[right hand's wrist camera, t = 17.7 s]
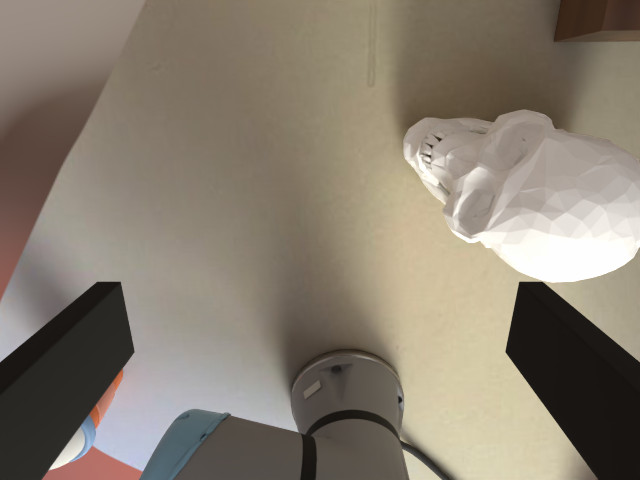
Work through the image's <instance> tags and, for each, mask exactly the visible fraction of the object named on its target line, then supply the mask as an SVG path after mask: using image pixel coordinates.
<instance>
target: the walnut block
mask: <svg viewBox="0 0 640 480" xmlns="http://www.w3.org/2000/svg"><path fill="white" fill-rule="evenodd" d="M599 41H640V0H561V5H560V10H559V16H558V22H557V27H556V33H555V38H554V42H599Z"/></svg>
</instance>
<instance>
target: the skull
mask: <svg viewBox="0 0 640 480" xmlns="http://www.w3.org/2000/svg"><path fill="white" fill-rule="evenodd" d="M471 131H473V132H471ZM477 132H478V133H477ZM479 133H486V134H479ZM445 135H446V136H445ZM435 136H437V137H439V138H441V139H442V140H441V141H440V142H439V141H438V140H437V139H436V138H435ZM426 143H428V144H430V145H433V147H432V148H431V147H430V146H428V145H427V144H426ZM403 151H404V158H405V159H406V160H407V162H408V163H409V164H410V165H411V166H412V167H413V168H414V169H415V171H416V172H417V173H418V175H419V177H420V179H421V180H422V182H423V184H424V185H425V186H426V187H427V188H428V190H429V191H430V192H431V193H432V194H433V195H434V196H435V197H436V198H438V199H439V200H440V201H441V202H443V203H444V204H445V206H444V208H443V210H442V211H443V214H444V216H445V219H446V221H447V224H448V226H449V228H450V229H451V231H452V232H453V233H454V234H456V235H457V236H458V237H460V238H462V239H464V240H465V241H467V242H471V243H474V242H477V241H479V240H480V241H481V242H482V243H483V245H484V247H487V248H490V247H491V248H492V249H493V250H494V251H495V252H496V253H497V255H498V256H499V257H501V258H502V259H503V260H504V261H505V262H507V263H508V264H509V265H510V266H512V267H513V268H514V269H516V270H517V271H519V272H521V273H523V274H526V275H529V276H531V277H534V278H537V279H540V280H543V281H548V282H572V281H577V280H582V279H588V278H593V277H596V276H599V275H603V274H605V273H608V272H610V271H613V270H615V269H617V268H619V267H621V266H623V265H624V264H626V263H627V262H628V261H629V260H631V259H632V258H633V257H634V256H635V254H636V252H637V250H638V248H639V247H640V161H639V160H638V159H637V158H636V157H634V156H633V155H631V154H629V153H628V152H626V151H625V150H623V149H622V148H620V147H619V146H617V145H615V144H614V143H612V142H611V141H609V140H605V139H601V138H597V137H593V136H588V135H584V134H576V133H569V132H566V131H565V130H564V129H555V128H554V126H553V125H552V120H551V119H550V118H549V117H548V116H546V115H545V114H543V113H539V112H535V111H530V110H525V109H524V110H518V111H514V112H510V113H506V114H503V115H499V116H498V118H497V119H496V120H495V122H490V121H485V120H480V119H475V118H454V119H439V118H424V119H422V120H420V121H419V122H417V123H416V124H415V125H413V126H412V127H410V128H409V129H408V131H407V133H406V135H405V137H404V139H403ZM425 154H428V155H431V158H430V157H428V156H426V155H425ZM429 162H430V163H431V164H429ZM439 182H440V183H441V184H442V185H443V186H444V187H445V188H447V189H448V190H449V191H450V193H449V192H448V191H447V190H446V189H445V188H444V187H443V186H442V185H441V184H440V183H439Z"/></svg>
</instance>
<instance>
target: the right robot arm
mask: <svg viewBox="0 0 640 480" xmlns="http://www.w3.org/2000/svg"><path fill="white" fill-rule="evenodd" d="M133 353H134V347H133V341H132V336H131V331H130V326H129V321H128V316H127V311H126V306H125V301H124V296H123V291H122V286H121V282H97V283H95V284H94V285H93V286H92V287H91V288H89V289H88V290H87V291H86V292H84V293H83V294H82V295H81V296H80V297H78V298H77V299H76V300H75V301H74V302H72V303H71V304H70V305H69V306H68V307H66V308H65V309H64V310H63V311H62V312H60V313H59V314H58V315H57V316H56V317H54V318H53V319H52V320H51V321H49V322H48V323H47V324H46V325H45V326H43V327H42V328H41V329H40V330H39V331H37V332H36V333H35V334H34V335H33V336H31V337H30V338H29V339H28V340H27V341H25V342H24V343H23V344H22V345H21V346H19V347H18V348H17V349H16V350H15V351H13V352H12V353H11V354H10V355H8V356H7V357H6V358H5V359H4V360H2V361H1V362H0V480H42V478H43V477H44V476H45V474H46V473H47V472H48V470H49V469H50V467H51V466H52V465H53V463H54V462H55V461H56V459H57V458H58V456H59V455H60V454H61V452H62V451H63V450H64V448H65V447H66V445H67V444H68V443H69V441H70V440H71V439H72V437H73V436H74V434H75V433H76V432H77V430H78V429H79V428H80V426H81V425H82V423H83V422H84V421H85V419H86V418H87V417H88V415H89V414H90V412H91V411H92V410H93V408H94V407H95V406H96V404H97V403H98V402H99V400H100V399H101V397H102V396H103V395H104V393H105V392H106V391H107V389H108V388H109V386H110V385H111V384H112V382H113V381H114V380H115V378H116V377H117V375H118V374H119V373H120V371H121V370H122V369H123V367H124V366H125V364H126V363H127V362H128V360H129V359H130V358H131V356H132V355H133ZM506 353H507V355H508V356H509V358H510V359H511V360H512V362H513V363H514V364H515V366H516V367H517V369H518V370H519V371H520V373H521V374H522V375H523V377H524V378H525V380H526V381H527V382H528V384H529V385H530V386H531V388H532V389H533V391H534V392H535V393H536V395H537V396H538V397H539V399H540V400H541V402H542V403H543V404H544V406H545V407H546V408H547V410H548V411H549V412H550V414H551V415H552V417H553V418H554V419H555V421H556V422H557V423H558V425H559V426H560V428H561V429H562V430H563V432H564V433H565V434H566V436H567V437H568V439H569V440H570V441H571V443H572V444H573V445H574V447H575V448H576V450H577V451H578V452H579V454H580V455H581V456H582V458H583V459H584V461H585V462H586V463H587V465H588V466H589V467H590V469H591V470H592V472H593V473H594V474H595V476H596V477H597V478H598V480H640V362H639V361H638V360H636V359H635V358H634V357H633V356H632V355H630V354H629V353H628V352H627V351H625V350H624V349H623V348H622V347H621V346H619V345H618V344H617V343H616V342H615V341H613V340H612V339H611V338H610V337H609V336H607V335H606V334H605V333H604V332H603V331H601V330H600V329H599V328H598V327H597V326H595V325H594V324H593V323H592V322H591V321H589V320H588V319H587V318H586V317H584V316H583V315H582V314H581V313H580V312H578V311H577V310H576V309H575V308H574V307H572V306H571V305H570V304H569V303H568V302H566V301H565V300H564V299H563V298H562V297H560V296H559V295H558V294H557V293H556V292H554V291H553V290H552V289H551V288H549V287H548V286H547V285H546V284H545V283H543V282H519V286H518V291H517V296H516V301H515V306H514V311H513V316H512V321H511V326H510V331H509V336H508V341H507V347H506ZM291 408H292V414H293V417H294V420H295V422H296V425H297V428H298V431H299V433H298V432H294V431H290V430H286V429H282V428H278V427H274V426H270V425H266V424H262V423H258V422H254V421H250V420H246V419H241V418H238V417H234V416H231V414H230V413H224V414H221V413H216V412H210V411H205V410H199V409H192V410H188V411H186V412H184V413H182V414H181V415H180V416H178V417H177V418H176V419H175V421H174V422H173V423H172V424H171V426H170V427H169V428H168V430H167V431H166V433H165V434H164V436H163V437H162V439H161V441H160V442H159V444H158V446H157V447H156V449H155V451H154V452H153V454H152V456H151V458H150V460H149V462H148V463H147V465H146V467H145V469H144V471H143V473H142V475H141V477H140V479H139V480H409V476H408V471H407V467H406V463H405V459H404V455H403V451H402V449H404V450H406V451H408V452H410V453H411V454H413V455H414V456H415V457H417V458H418V459H419V460H421V461H422V462H423V463H424V464H425V465H427V466H428V467H429V468H430V469H431V470H432V471H433V472H434V473H435V474H436V475H438V476H439V477H440V478H441V479H442V480H451V479H450V478H449V477H448V476H447V475H445V474H444V473H443V472H442V471H441V470H440V469H439V468H438V467H437V466H436V465H435V464H433V463H432V462H431V461H430V460H429V459H428V458H427V457H426V456H424V455H423V454H422V453H421V452H419V451H418V450H417V449H415V448H414V447H412V446H411V445H409V444H407V443H405V442H403V441H401V440H400V431H401V424H402V418H403V411H404V394H403V390H402V386H401V383H400V380H399V377H398V376H397V374H396V372H395V371H394V369H393V368H392V367H391V366H390V365H389V364H388V363H387V362H385V361H384V360H382V359H381V358H379V357H377V356H375V355H373V354H370V353H367V352H363V351H358V350H338V351H333V352H329V353H326V354H323V355H321V356H319V357H317V358H315V359H313V360H312V361H310V362H309V363H308V364H307V365H305V366H304V367H303V368H302V370H301V371H300V372H299V373H298V375H297V377H296V379H295V381H294V384H293V387H292V395H291Z"/></svg>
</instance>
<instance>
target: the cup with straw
mask: <svg viewBox="0 0 640 480" xmlns="http://www.w3.org/2000/svg"><path fill="white" fill-rule="evenodd" d="M122 377H123V370H121V371H120V373H119V374H118V375H117V377H116V378H115V380H114V381H113V382H112V384H111V385H110V386H109V388H108V389H107V391H106V392H105V393H104V395H103V396H102V397H101V399H100V400H99V402H98V403H97V404H96V406H95V407H94V408H93V410H92V411H91V412H90V414H89V415H88V417H87V418H86V419H85V421H84V422H83V423H82V425H81V426H80V428H79V429H78V430H77V432H76V433H75V434H74V436H73V437H72V439H71V440H70V441H69V443H68V444H67V445H66V447H65V448H64V450H63V451H62V452H61V454H60V455H59V456H58V458H57V459H56V461H55V462H54V463H53V465H52V466H51V467H50V469H49V470H51V469H54V468H58V467H60V466H62V465H64V464H66V463H68V462H72V461H75V460H77V459H79V458H80V457H82V456H83V455H84V454H85V453H86V452H87V451H88V450H89V449H90V448H91V446H92V444H93V442H94V440H95V435H96V428H97V427H98V426H99V424H100V422H101V420H102V418H103V416H104V415H105V413H106V411H107V409H108V407H109V405H110V403H111V402H112V400H113V398H114V395H115V391H116V389H117V387H118V386H119V384H120V382H121V380H122Z"/></svg>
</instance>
